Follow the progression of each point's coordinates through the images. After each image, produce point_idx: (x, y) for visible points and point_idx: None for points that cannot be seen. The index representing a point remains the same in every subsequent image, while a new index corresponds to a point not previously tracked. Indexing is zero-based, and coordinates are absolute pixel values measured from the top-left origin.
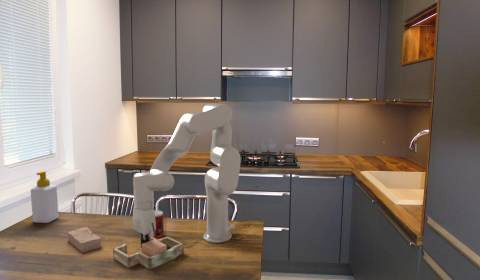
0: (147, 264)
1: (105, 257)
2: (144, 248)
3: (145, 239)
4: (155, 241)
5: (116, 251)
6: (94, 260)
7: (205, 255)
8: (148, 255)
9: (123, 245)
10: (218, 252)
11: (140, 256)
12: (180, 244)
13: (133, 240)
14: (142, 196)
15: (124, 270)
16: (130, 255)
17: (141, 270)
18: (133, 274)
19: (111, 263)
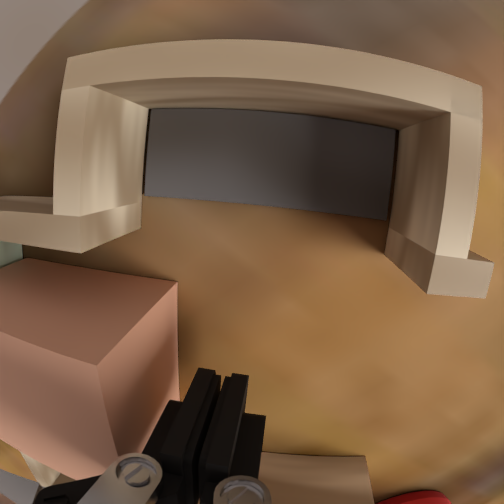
0: (2, 200)
1: (489, 93)
2: (59, 325)
3: (121, 467)
4: (74, 468)
5: (387, 62)
6: (494, 18)
7: (13, 449)
8: (40, 287)
9: (457, 252)
10: (19, 474)
11: (46, 208)
12: (41, 482)
13: (494, 426)
14: None
15: (121, 40)
16: (80, 101)
17: (28, 142)
18: (33, 71)
19: (342, 30)
